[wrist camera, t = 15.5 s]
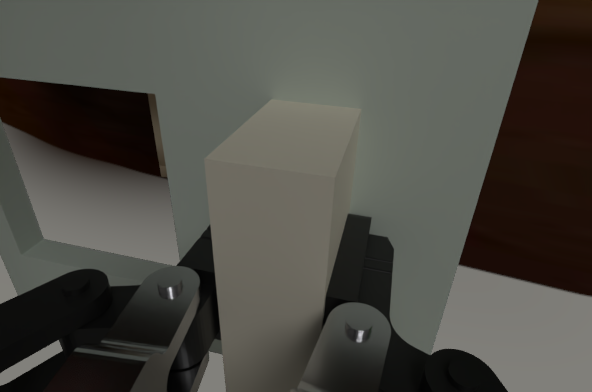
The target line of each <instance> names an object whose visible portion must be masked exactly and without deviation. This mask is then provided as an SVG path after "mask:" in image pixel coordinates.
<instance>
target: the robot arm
mask: <svg viewBox="0 0 592 392" xmlns="http://www.w3.org/2000/svg"><path fill="white" fill-rule="evenodd" d="M371 219H372V217H367V216H361V215H355V214H349V213H348V215H347V219H346V223H345V226H344V230H343V234H342V238H341V241H340V245H339V249H338V252H337V256H336V260H335V263H334V267H333V271H332V275H331V278H330V282H329V286H328V289H327V293H326V298H325V309H324V320H323V330H322V332H321V334H320V337H319V339H318V341H317V344H316V346H315V348H314V351H313V353H312V355H311V358H310V360H309V363H308V365H307V367H306V370H305V372H304V374H303V377H302V379H301V381H300V383H299V385H298V387H297V388H292V389H291V390H290V391H289V392H508V391H507V390H506V389H505V387H504V386H503V384H502V383H501V382H500V380H499V379H498V377H497V376H496V375H495V373H494V372H493V371H492V370H491V369H490V368H489V366H487V365H486V364H485V363H484V362H483V361H481V360H480V359H479V358H477V357H475V356H474V355H472V354H469V353H467V352H464V351H461V350H456V349H442V350H439V351H436V352H434V353H433V354H432V355H429V354H427V353H425V352H423V351H421V350H419V349H417V348H415V347H413V346H412V345H410V344H408V343H407V342H406V341H404V340H403V339H402V338H401V337H400V336H399V335H398V334H397V333H396V331H395V330H394V328H393V326H392V324H391V321H390V301H391V287H392V272H393V258H394V248H393V246H392V244H391V243H390V241H389V239H388V237H384V236H378V235H372V234H369V232H370V226H371ZM214 339H217V340H221V332H220V321H219V311H218V300H217V290H216V279H215V269H214V258H213V247H212V237H211V226H210V225H209V226H208V227H207V230H205V231H204V232H203V234H202V235H201V237H200V238H199V239H198V240H197V241H196V242H195V243H194V245H193V246H192V247H191V248H190V250H189V251H188V252H187V253H186V255H185V256H184V257H183V258H182V260H181V261H180V262H179V263H178V264H177V266H170V267H165V268H162V269H159V270H157V271H155V272H153V273H152V274H150V275H149V276H148V277H147V278H146V279H145V280H144V281H143V282H142V284H141V285H130V286H110V284H109V280H108V277H107V275H106V274H105V273H104V272H102V271H100V270H96V269H80V270H75V271H72V272H69V273H66V274H64V275H62V276H60V277H58V278H55V279H53V280H51V281H49V282H47V283H45V284H42V285H40V286H38V287H36V288H34V289H32V290H30V291H27V292H25V293H23V294H21V295H19V296H17V297H15V298H13V299H10V300H8V301H6V302H4V303H2V304H0V373H1V372H2V371H4V370H5V369H7V368H9V367H11V366H13V365H15V364H16V363H18V362H20V361H22V360H23V359H25V358H27V357H29V356H30V355H32V354H34V353H36V352H38V351H39V350H41V349H43V348H45V347H46V346H48V345H50V344H51V343H53V342H55V341H57V340H59V342H60V344H61V347H62V349H63V351H62V352H60V353H58V354H56V355H55V356H53V357H51V358H50V359H48V360H46V361H45V362H43V363H41V364H40V365H38V366H36V367H34V368H33V369H31V370H30V371H28V372H26V373H24V374H22V375H21V376H19V377H17V378H16V379H14V380H12V381H11V382H9V383H7V384H4V385H1V386H0V392H197V391H198V388H199V385H200V383H201V380H202V378H203V375H204V372H205V370H206V367H207V364H208V361H209V352H208V350H209V348H210V347H211V345H212V343H213V341H214Z"/></svg>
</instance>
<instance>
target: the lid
mask: <svg viewBox="0 0 592 392" xmlns="http://www.w3.org/2000/svg"><path fill="white" fill-rule="evenodd" d="M537 3H538V0H0V77H5V78H14V79H23V80H32V81H41V82H50V83H59V84H69V85H78V86H87V87H96V88H105V89H114V90H123V91H133V92H142V93H151V94H155V97H156V104H157V110H158V117H159V124H160V130H161V137H162V144H163V150H164V157H165V164H166V170H167V177H168V184H169V190H170V197H171V204H172V210H173V217H174V224H175V230H176V236H177V244H178V250H179V257H180V261H181V260H182V258H183V257H184V256H185V255H186V253H187V252H188V251H189V250H190V248H191V247H192V246H193V245H194V243H195V242H196V241H197V240H198V239H199V238H200V237H201V235H202V234H203V232H204V231H205V230H207V227H208V226H209V225H210V226H211V237H212V247H213V258H214V269H215V279H216V290H217V300H218V311H219V321H220V332H221V340H217V339H214V341H213V343H212V345H211V347H210V348H209V350H208V351H210V352H215V353H219V354H222V355H223V363H224V374H225V383H226V392H289V391H290V390H291V389H292V388H297V387H298V385H299V383H300V381H301V379H302V377H303V374H304V372H305V370H306V367H307V365H308V363H309V360H310V358H311V355H312V353H313V351H314V348H315V346H316V344H317V341H318V339H319V337H320V334H321V332H322V330H323V320H324V309H325V298H326V293H327V289H328V286H329V282H330V278H331V275H332V271H333V267H334V263H335V260H336V256H337V252H338V249H339V245H340V241H341V238H342V234H343V230H344V226H345V223H346V219H347V215H348V213H349V214H355V215H361V216H367V217H372V219H371V226H370V232H369V234H372V235H378V236H384V237H388V239H389V241H390V243H391V244H392V246H393V248H394V258H393V272H392V287H391V301H390V321H391V324H392V326H393V328H394V330H395V331H396V333H397V334H398V335H399V336H400V337H401V338H402V339H403V340H404V341H406V342H407V343H408V344H410V345H412V346H413V347H415V348H417V349H419V350H421V351H423V352H425V353H427V354H429V355H431V352H432V348H433V345H434V342H435V339H436V335H437V332H438V329H439V325H440V322H441V319H442V316H443V312H444V309H445V306H446V302H447V299H448V296H449V292H450V289H451V286H452V283H453V279H454V276H455V273H456V270H457V266H458V263H459V260H460V256H461V253H462V250H463V246H464V243H465V240H466V237H467V233H468V230H469V227H470V223H471V220H472V217H473V214H474V210H475V207H476V204H477V200H478V197H479V194H480V191H481V187H482V184H483V181H484V177H485V174H486V171H487V167H488V164H489V161H490V158H491V154H492V151H493V148H494V144H495V141H496V138H497V135H498V131H499V128H500V125H501V121H502V118H503V115H504V112H505V108H506V105H507V102H508V98H509V95H510V92H511V88H512V85H513V82H514V79H515V75H516V72H517V69H518V65H519V62H520V59H521V56H522V52H523V49H524V46H525V42H526V39H527V36H528V33H529V29H530V26H531V23H532V19H533V16H534V13H535V9H536V6H537ZM0 255H1V257H2V260H3V262H4V264H5V266H6V269H7V271H8V273H9V276H10V278H11V280H12V283H13V285H14V287H15V289H16V292H17V294H18V296H19V295H21V294H23V293H25V292H27V291H30V290H32V289H34V288H36V287H38V286H40V285H42V284H45V283H47V282H49V281H51V280H53V279H55V278H58V277H60V276H62V275H64V274H66V273H69V272H72V271H75V270H80V269H96V270H100V271H102V272H104V273H105V274H106V275H107V277H108V280H109V284H110V286H130V285H141V284H142V282H143V281H144V280H145V279H146V278H147V277H148V276H149V275H150V274H152V273H153V272H155V271H157V270H159V269H162V268H165V267H170V266H172V265H167V264H162V263H157V262H152V261H148V260H143V259H138V258H133V257H128V256H124V255H118V254H114V253H109V252H104V251H99V250H95V249H90V248H85V247H80V246H75V245H70V244H65V243H61V242H56V241H51V240H46V239H43V236H42V233H41V230H40V227H39V224H38V221H37V219H36V216H35V213H34V211H33V208H32V205H31V202H30V199H29V196H28V194H27V191H26V188H25V185H24V182H23V180H22V177H21V174H20V171H19V169H18V166H17V163H16V160H15V157H14V155H13V152H12V149H11V147H10V143H9V141H8V138H7V135H6V132H5V130H4V127H3V124H2V121H1V118H0Z"/></svg>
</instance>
